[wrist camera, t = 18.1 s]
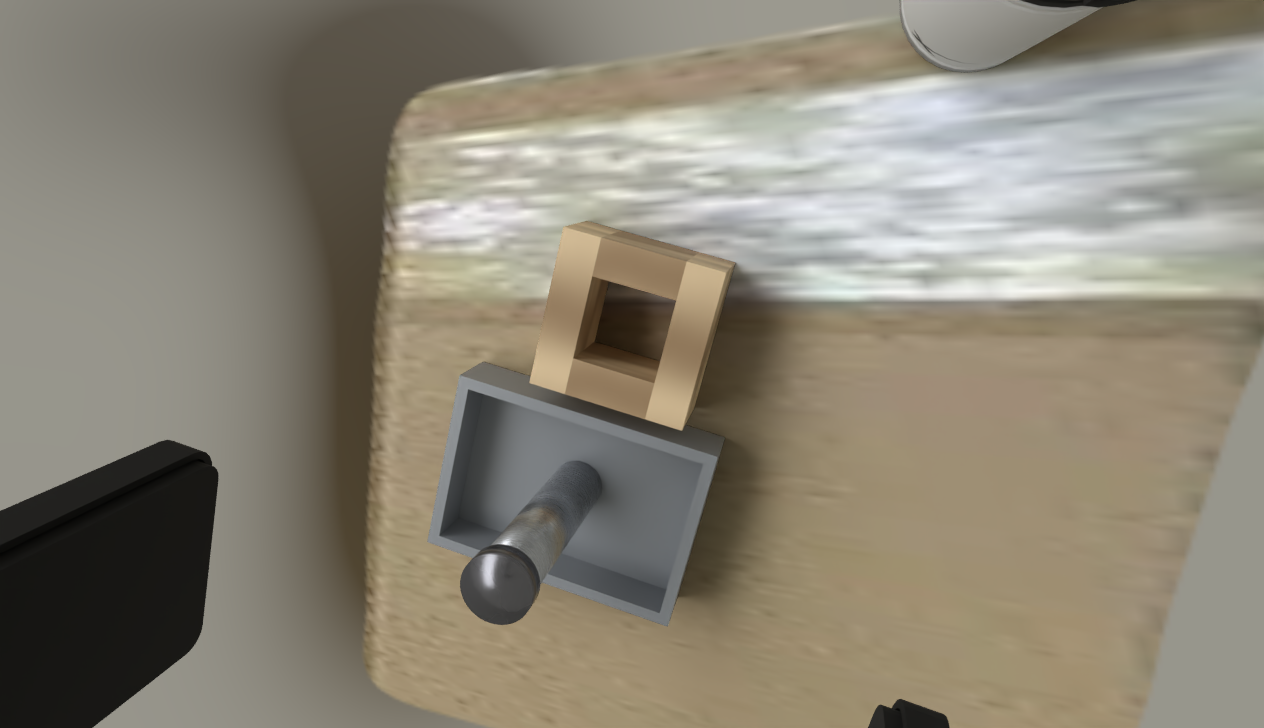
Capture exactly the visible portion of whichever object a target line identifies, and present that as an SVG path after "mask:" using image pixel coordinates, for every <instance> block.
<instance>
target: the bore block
mask: <svg viewBox="0 0 1264 728" xmlns="http://www.w3.org/2000/svg"><path fill="white" fill-rule="evenodd" d="M734 266H735V262H732V261H728V260H725V259H721V258H717V257H714V256H710V255H707V254H703V253H699V252H696V251H692V250H689V249H685V248H682V247H678V246H674V245H671V244H667V243H664V242H660V241H656V240H653V239H649V238H646V237H642V236H638V235H635V234H631V233H628V232H624V231H621V230H617V229H613V228H610V227H606V226H603V225H599V224H595V223H592V222H588V221H585V222H581V223H577V224H573V225H569V226H565V227H563V231H562V236H561V240H560V245H559V250H558V254H557V259H556V263H555V268H554V272H553V277H552V281H551V286H550V291H549V295H548V300H547V304H546V309H545V313H544V318H543V323H542V327H541V332H540V336H539V341H538V345H537V350H536V354H535V359H534V364H533V368H532V373H531V377H530V382H529V383H531V384H534V385H537V386H540V387H544V388H547V389H550V390H553V391H556V392H560V393H563V394H566V395H569V396H572V397H575V398H579V399H582V400H585V401H588V402H591V403H595V404H598V405H601V406H604V407H607V408H611V409H614V410H617V411H620V412H623V413H626V414H630V415H633V416H636V417H639V418H642V419H646V420H649V421H652V422H655V423H658V424H662V425H665V426H668V427H671V428H674V429H678V430H681V431H682V430H683V428H684V426H685V424H686V423H687V421H688V419H689V417H690V415H691V413H692V411H693V410H694V408H695V404H696V400H697V397H698V393H699V390H700V386H701V383H702V379H703V376H704V372H705V369H706V365H707V362H708V358H709V354H710V351H711V347H712V344H713V340H714V337H715V333H716V330H717V326H718V323H719V319H720V315H721V312H722V308H723V305H724V301H725V298H726V294H727V291H728V287H729V284H730V280H731V277H732V273H733V269H734ZM609 281H610V282H614V283H617V284H620V285H624V286H627V287H631V288H634V289H638V290H641V291H645V292H648V293H652V294H655V295H659V296H662V297H665V298H669V299H672V300H676V304H675V308H674V311H673V315H672V319H671V323H670V326H669V330H668V334H667V338H666V342H665V345H664V349H663V353H662V357H661V360H660V361H657V360H654V359H650V358H647V357H644V356H640V355H637V354H634V353H630V352H627V351H624V350H621V349H617V348H614V347H611V346H607V345H604V344H601V343H597V342H595V338H596V334H597V330H598V325H599V321H600V317H601V313H602V309H603V305H604V300H605V296H606V292H607V288H608V284H609Z"/></svg>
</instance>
